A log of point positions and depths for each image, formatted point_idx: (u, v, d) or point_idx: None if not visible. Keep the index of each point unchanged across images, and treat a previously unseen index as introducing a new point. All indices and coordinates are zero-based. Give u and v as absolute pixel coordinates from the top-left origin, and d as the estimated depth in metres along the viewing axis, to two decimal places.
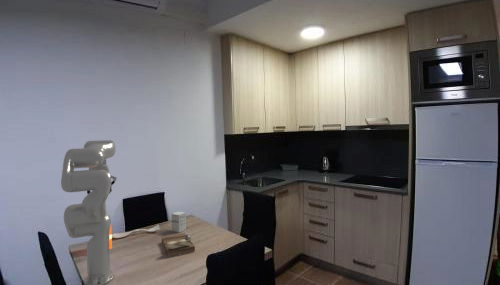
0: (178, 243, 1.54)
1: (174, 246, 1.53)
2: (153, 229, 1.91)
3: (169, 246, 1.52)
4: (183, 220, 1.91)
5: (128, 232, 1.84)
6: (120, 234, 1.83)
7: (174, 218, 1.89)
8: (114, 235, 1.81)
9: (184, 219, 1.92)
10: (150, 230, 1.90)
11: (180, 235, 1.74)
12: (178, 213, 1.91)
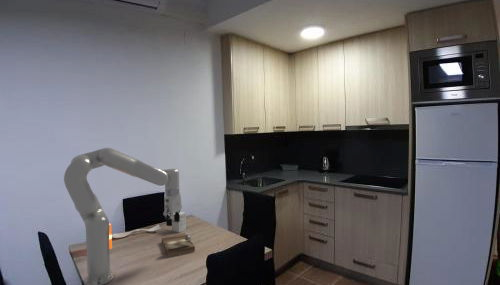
0: (178, 243, 1.54)
1: (174, 246, 1.53)
2: (153, 229, 1.92)
3: (169, 246, 1.52)
4: (183, 220, 1.91)
5: (128, 232, 1.84)
6: (120, 234, 1.83)
7: None
8: (114, 235, 1.81)
9: (184, 219, 1.92)
10: (150, 230, 1.90)
11: (180, 235, 1.74)
12: None
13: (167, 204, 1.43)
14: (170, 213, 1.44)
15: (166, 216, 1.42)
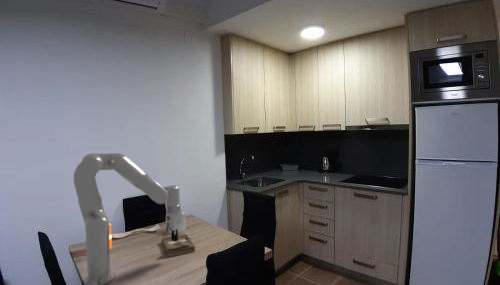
0: (178, 243, 1.54)
1: (174, 246, 1.53)
2: (153, 229, 1.92)
3: (169, 246, 1.52)
4: (183, 220, 1.91)
5: (129, 232, 1.84)
6: (120, 234, 1.83)
7: None
8: (115, 235, 1.80)
9: (184, 219, 1.92)
10: (150, 230, 1.91)
11: (180, 235, 1.74)
12: None
13: (168, 221, 1.43)
14: None
15: (171, 233, 1.45)
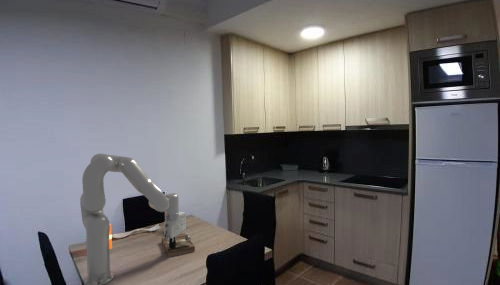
0: (178, 243, 1.54)
1: None
2: (153, 228, 1.93)
3: None
4: (183, 220, 1.91)
5: (129, 232, 1.84)
6: (121, 234, 1.83)
7: None
8: (115, 235, 1.80)
9: (184, 219, 1.92)
10: (150, 229, 1.91)
11: (180, 235, 1.74)
12: None
13: (166, 229, 1.46)
14: (171, 238, 1.49)
15: (169, 240, 1.48)
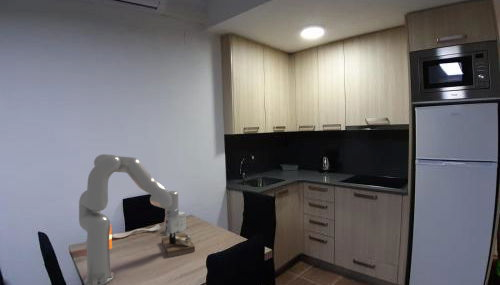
0: (178, 240, 1.59)
1: None
2: (154, 228, 1.93)
3: None
4: (183, 220, 1.91)
5: (129, 232, 1.84)
6: (121, 234, 1.83)
7: None
8: (115, 235, 1.81)
9: (184, 219, 1.92)
10: (151, 229, 1.91)
11: (180, 235, 1.74)
12: None
13: (167, 225, 1.53)
14: None
15: (169, 235, 1.55)
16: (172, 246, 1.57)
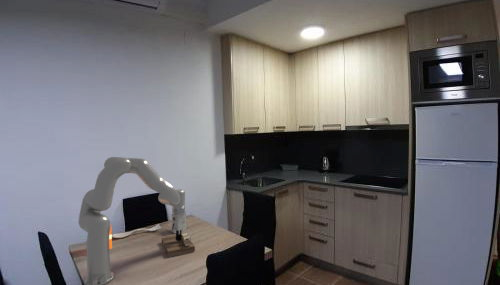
0: (183, 237, 1.62)
1: (182, 238, 1.64)
2: (154, 228, 1.93)
3: None
4: None
5: (129, 232, 1.84)
6: (121, 234, 1.84)
7: None
8: (115, 235, 1.81)
9: None
10: (151, 229, 1.91)
11: None
12: None
13: (174, 222, 1.59)
14: None
15: (176, 232, 1.61)
16: (172, 246, 1.57)
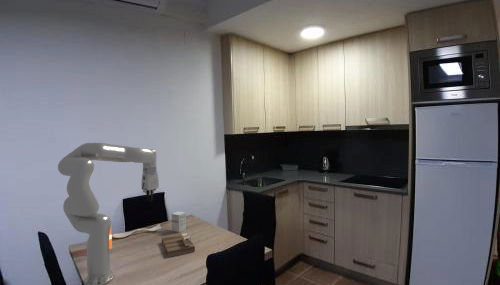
0: (183, 237, 1.62)
1: (182, 238, 1.64)
2: (154, 228, 1.93)
3: (181, 236, 1.67)
4: (183, 220, 1.91)
5: (130, 232, 1.85)
6: (122, 234, 1.84)
7: (174, 218, 1.89)
8: (116, 235, 1.81)
9: (184, 219, 1.92)
10: (151, 229, 1.91)
11: (180, 235, 1.74)
12: (178, 213, 1.91)
13: (144, 181, 1.54)
14: (148, 190, 1.56)
15: (146, 192, 1.56)
16: (172, 246, 1.57)
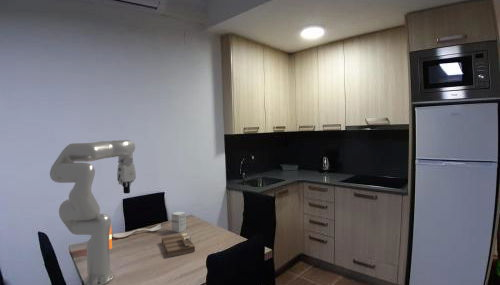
0: (183, 237, 1.62)
1: (182, 238, 1.64)
2: (155, 228, 1.92)
3: (181, 236, 1.67)
4: (183, 220, 1.91)
5: (130, 232, 1.85)
6: (122, 234, 1.84)
7: (174, 218, 1.89)
8: (116, 235, 1.81)
9: (184, 219, 1.92)
10: (152, 229, 1.91)
11: (180, 235, 1.74)
12: (178, 213, 1.91)
13: (119, 173, 1.51)
14: (125, 182, 1.54)
15: (122, 184, 1.53)
16: (172, 246, 1.57)
